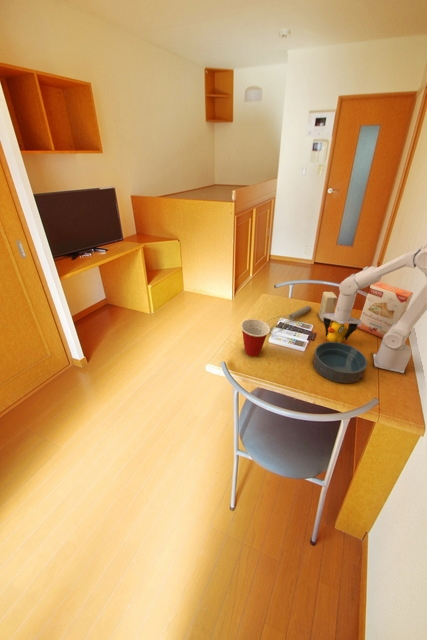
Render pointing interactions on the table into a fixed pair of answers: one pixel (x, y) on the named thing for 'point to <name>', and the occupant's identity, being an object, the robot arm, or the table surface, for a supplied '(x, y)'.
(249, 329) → the plastic cup
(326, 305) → the cosmetic box
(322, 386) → the table surface
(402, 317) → the robot arm
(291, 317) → the kitchen whisk
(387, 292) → the cracker box
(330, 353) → the bowl
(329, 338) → the duckling
